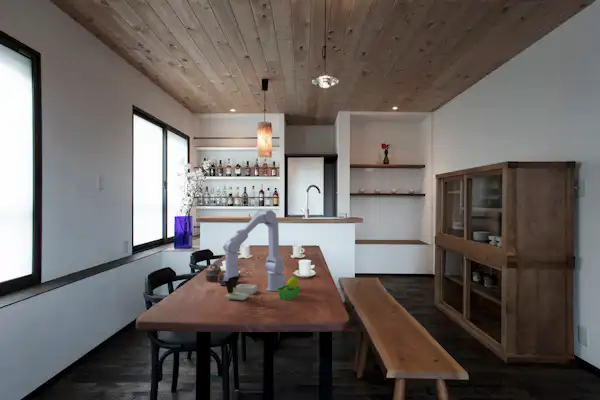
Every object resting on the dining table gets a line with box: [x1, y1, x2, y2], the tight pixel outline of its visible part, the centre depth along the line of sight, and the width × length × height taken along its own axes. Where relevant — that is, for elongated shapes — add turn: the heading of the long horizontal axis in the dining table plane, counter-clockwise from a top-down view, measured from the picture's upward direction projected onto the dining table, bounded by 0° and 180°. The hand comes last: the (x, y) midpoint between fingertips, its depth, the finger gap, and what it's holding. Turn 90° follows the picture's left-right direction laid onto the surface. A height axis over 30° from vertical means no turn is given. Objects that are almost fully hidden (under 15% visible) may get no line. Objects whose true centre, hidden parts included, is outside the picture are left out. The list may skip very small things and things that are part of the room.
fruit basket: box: [276, 275, 301, 301], centre depth 178 cm, size 11×9×11 cm
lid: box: [224, 287, 251, 301], centre depth 176 cm, size 10×7×5 cm
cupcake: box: [204, 263, 222, 283], centre depth 215 cm, size 10×10×10 cm
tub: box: [235, 283, 258, 296], centre depth 188 cm, size 10×7×4 cm
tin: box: [218, 269, 240, 286], centre depth 208 cm, size 15×3×8 cm, turn 143°
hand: (231, 292), depth 177 cm, fingers closed on lid, 3 cm apart
